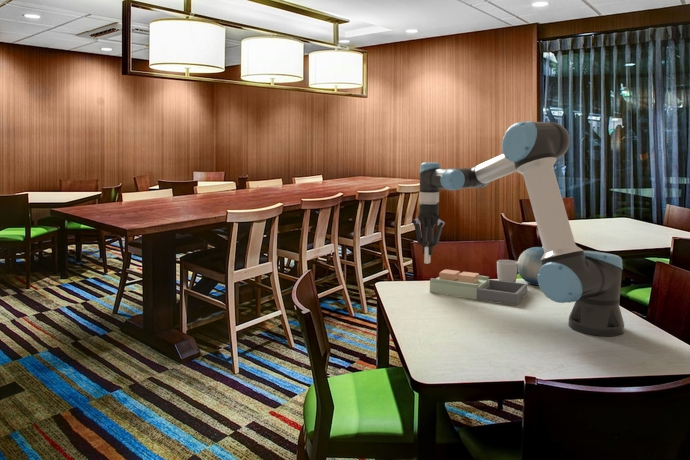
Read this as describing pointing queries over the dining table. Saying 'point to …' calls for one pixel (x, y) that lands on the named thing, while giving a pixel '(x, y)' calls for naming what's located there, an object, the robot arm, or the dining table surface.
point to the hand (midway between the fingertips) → (427, 262)
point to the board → (458, 287)
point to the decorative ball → (530, 264)
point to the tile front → (468, 277)
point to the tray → (502, 292)
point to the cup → (507, 270)
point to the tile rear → (449, 275)
